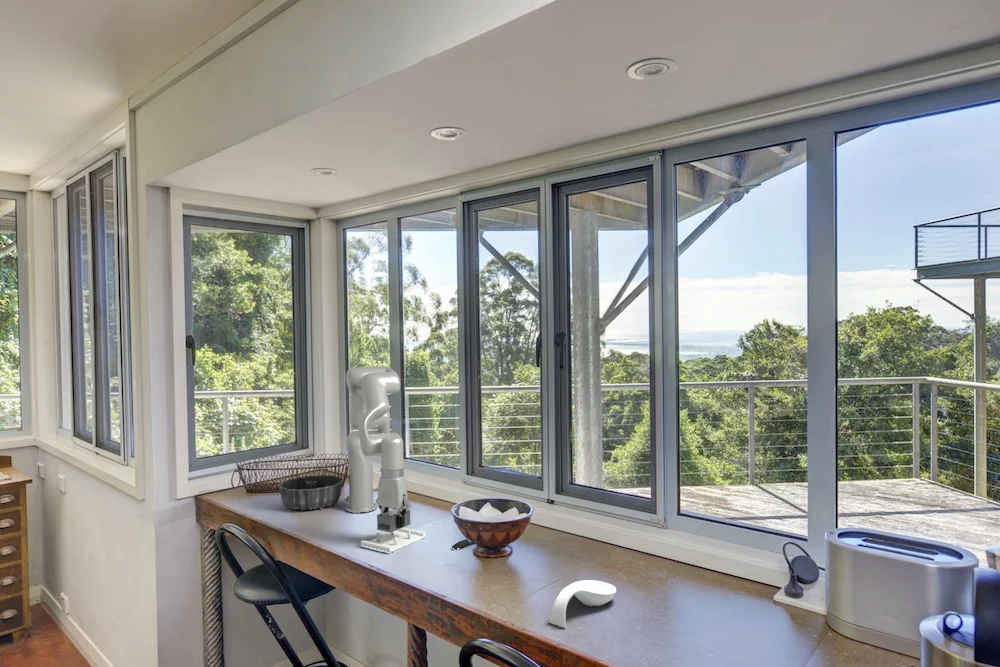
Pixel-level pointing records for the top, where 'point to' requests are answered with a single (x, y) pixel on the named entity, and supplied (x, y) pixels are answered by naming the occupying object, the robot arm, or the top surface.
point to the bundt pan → (311, 491)
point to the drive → (390, 520)
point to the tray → (394, 539)
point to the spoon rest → (580, 598)
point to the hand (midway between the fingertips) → (393, 525)
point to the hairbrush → (461, 544)
